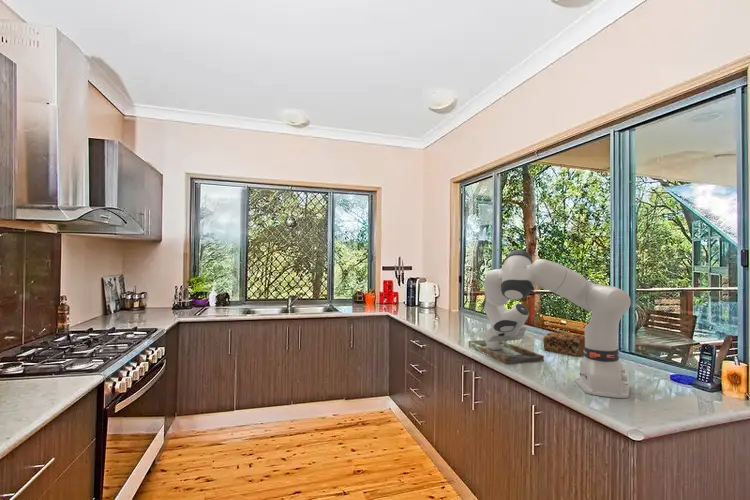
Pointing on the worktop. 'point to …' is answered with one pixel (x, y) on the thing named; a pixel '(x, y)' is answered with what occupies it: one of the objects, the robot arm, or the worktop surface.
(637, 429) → the worktop surface
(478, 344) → the wooden serving tray
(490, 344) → the lidded jar
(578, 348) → the bread
